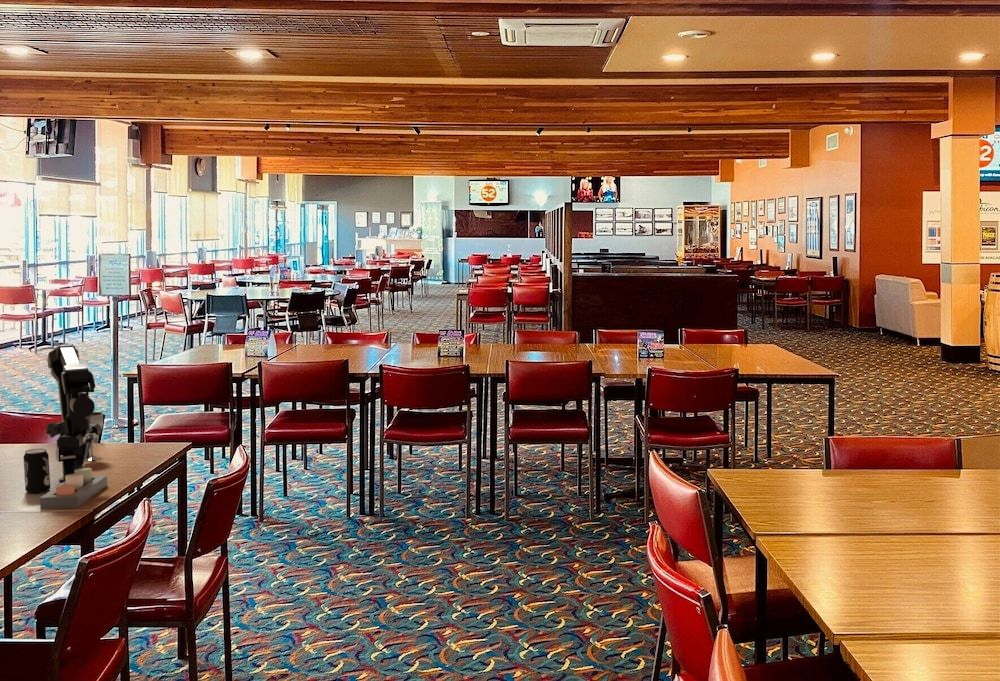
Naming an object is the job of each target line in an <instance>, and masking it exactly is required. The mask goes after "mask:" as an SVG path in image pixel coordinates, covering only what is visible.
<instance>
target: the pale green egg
mask: <svg viewBox="0 0 1000 681" xmlns="http://www.w3.org/2000/svg"><path fill="white" fill-rule="evenodd" d="M92 470H93V469H92V468H90V467H83V468H79V469H75V470H74V474H83V482H91V481H92V476H93V473H92Z"/></svg>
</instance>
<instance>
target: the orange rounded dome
mask: <svg viewBox="0 0 1000 681" xmlns="http://www.w3.org/2000/svg"><path fill="white" fill-rule="evenodd" d="M57 486H58V485H57ZM57 486H55V487H56V495H72V494H74V493H75V491H74V485H62V486H58V487H57Z"/></svg>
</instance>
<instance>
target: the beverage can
mask: <svg viewBox="0 0 1000 681" xmlns="http://www.w3.org/2000/svg"><path fill="white" fill-rule="evenodd" d="M22 459H23V470H24V471H23V473H24V474H23V475H24V484H25V485H24V487H25V490H24V491H25V492H27V493H28V494H30V493H31V494H32V495H33V494H34V495H37V494H38V493H39V494H44V493H48V492H49V491H50V489H51V473H50V460H49V459H50V457H49V453H48V452H47V449H46V448H42V447H41V448H30V449H27V450H24V455H23V458H22ZM43 492H44V493H43ZM31 494H30V495H31Z"/></svg>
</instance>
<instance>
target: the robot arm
mask: <svg viewBox="0 0 1000 681" xmlns="http://www.w3.org/2000/svg"><path fill="white" fill-rule="evenodd" d="M79 355H80V354H79V350H78V349H77V348H76V346H75V344H74V345H73V344H59V345H57V346H56V348H55V349H53V350H51V351H49V352H48V355H47V358H46V360H47V368H48V369H50V376H51V377H53V379H54V380H55V381H56V382H57V388H58V395H59V396H58V397H59V406H60V414H61V415H60V416H61V421H59V422H55V421H53V422H50V423H47V424H46V427H45V429H46V431H45V433H46V435H49V436H50V438H55V437H56V436H58V435H59V436H58V438H57V439H56V446H55V448H56V449H55V457H56V461H57V462H58V463H61V464H62V465H61V466H62V477H61V478H60V479H59V480H58V482H64V481H66V480H65V476H66V475H69V474H74V470H75V469H79V468H84V463H85V462H86V461H85V459H88V458H89V457H90V447H91V445H92V443H93V444H94V442H93V441H95V439H94V438H89V436H88V434H89V433H96V435H97V436H99V435H101V434H102V429H101V426H100V425H99V424H90V417H92V413H93V412H95V406H96V405H95V402H94V401H93V399H92V398H90V395H89V393H94V392H95V390H96V383H95V378H94V374H93V373H92V371H91V370H89V368H88V366H87V365H86V364H84V363H81V362H80V356H79Z"/></svg>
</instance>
